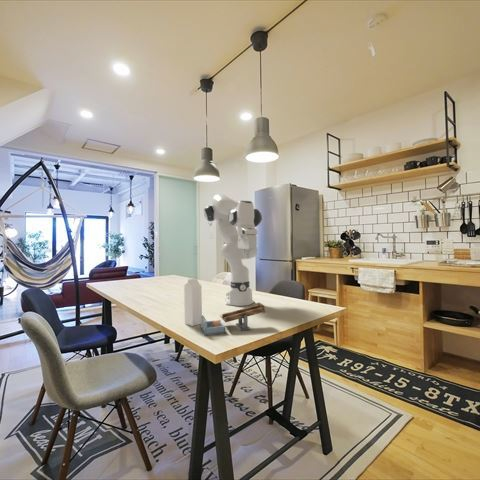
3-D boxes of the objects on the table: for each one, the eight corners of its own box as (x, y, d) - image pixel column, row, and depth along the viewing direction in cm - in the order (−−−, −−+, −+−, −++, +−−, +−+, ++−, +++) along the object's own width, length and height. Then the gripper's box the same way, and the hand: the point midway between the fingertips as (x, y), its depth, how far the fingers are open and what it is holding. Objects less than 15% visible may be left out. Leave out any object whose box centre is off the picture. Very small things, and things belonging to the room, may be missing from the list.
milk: (202, 323, 134) (201, 278, 134) (192, 326, 129) (192, 279, 129) (193, 321, 138) (193, 277, 138) (184, 323, 133) (184, 278, 133)
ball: (211, 327, 124) (211, 320, 124) (219, 327, 125) (219, 319, 125) (213, 330, 120) (213, 322, 121) (220, 329, 121) (221, 321, 122)
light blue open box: (201, 328, 126) (201, 315, 126) (220, 326, 128) (220, 313, 128) (204, 335, 116) (204, 321, 116) (225, 333, 119) (225, 319, 119)
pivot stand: (243, 323, 132) (243, 310, 132) (250, 330, 122) (250, 315, 122) (235, 324, 131) (235, 310, 131) (242, 331, 121) (241, 316, 121)
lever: (256, 308, 138) (255, 299, 138) (265, 314, 126) (264, 305, 126) (220, 318, 132) (218, 309, 132) (226, 325, 121) (224, 315, 121)
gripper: (234, 232, 151) (235, 257, 151) (246, 230, 131) (246, 259, 131) (245, 232, 153) (246, 256, 153) (258, 230, 133) (259, 259, 133)
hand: (246, 258), depth 142 cm, fingers closed
